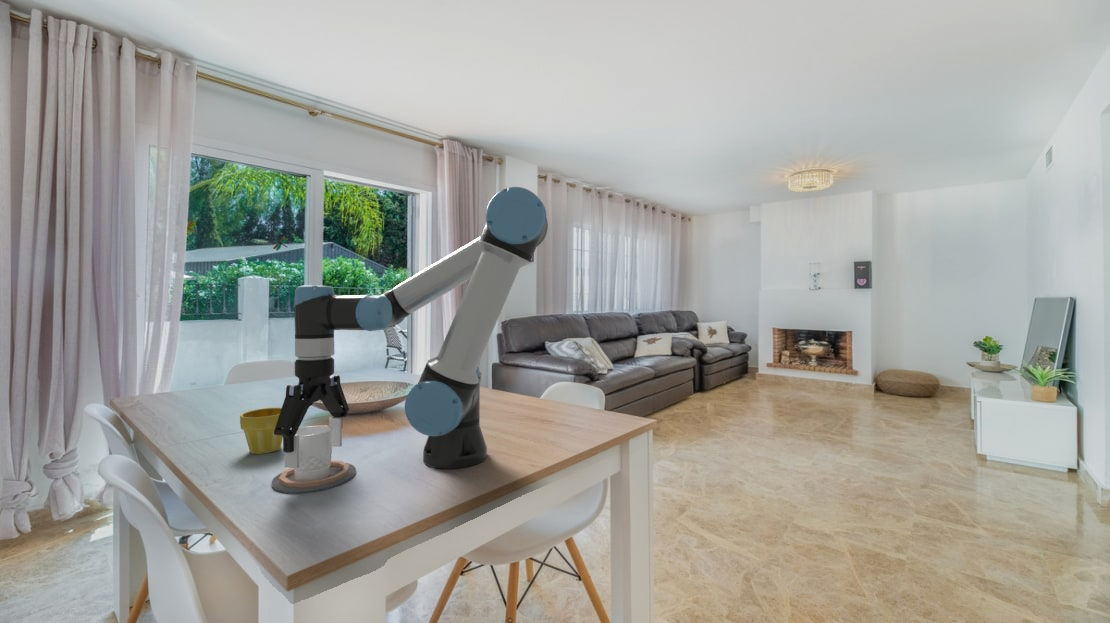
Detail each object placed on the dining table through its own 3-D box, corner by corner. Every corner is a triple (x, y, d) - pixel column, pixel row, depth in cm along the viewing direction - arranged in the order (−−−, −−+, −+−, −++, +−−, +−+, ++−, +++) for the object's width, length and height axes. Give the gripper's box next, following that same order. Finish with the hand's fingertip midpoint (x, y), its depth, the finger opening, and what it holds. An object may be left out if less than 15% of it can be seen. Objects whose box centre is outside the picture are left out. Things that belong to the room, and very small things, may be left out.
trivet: (370, 466, 104) (370, 460, 104) (324, 496, 88) (324, 488, 88) (308, 462, 107) (308, 456, 107) (252, 490, 91) (252, 483, 91)
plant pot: (235, 459, 109) (235, 418, 108) (245, 446, 118) (245, 409, 118) (285, 453, 113) (285, 414, 113) (291, 441, 122) (290, 405, 122)
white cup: (315, 485, 92) (314, 436, 91) (281, 482, 93) (281, 434, 93) (341, 471, 99) (340, 426, 99) (310, 468, 101) (309, 424, 101)
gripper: (336, 351, 110) (336, 437, 110) (251, 364, 85) (252, 476, 86) (364, 351, 109) (364, 439, 109) (286, 366, 84) (287, 479, 85)
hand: (315, 455), depth 97 cm, fingers open, 13 cm apart
